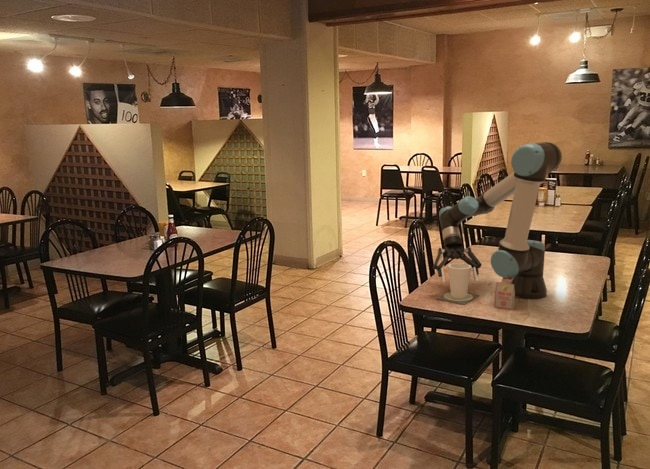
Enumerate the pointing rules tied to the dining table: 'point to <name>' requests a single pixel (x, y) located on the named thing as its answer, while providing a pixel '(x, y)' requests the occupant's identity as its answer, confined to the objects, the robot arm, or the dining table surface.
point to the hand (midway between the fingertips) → (460, 282)
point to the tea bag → (504, 296)
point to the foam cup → (459, 279)
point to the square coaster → (461, 301)
